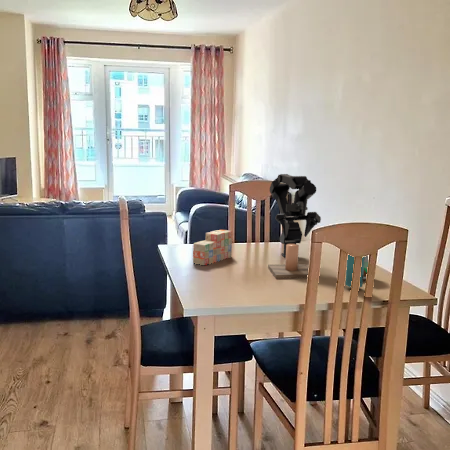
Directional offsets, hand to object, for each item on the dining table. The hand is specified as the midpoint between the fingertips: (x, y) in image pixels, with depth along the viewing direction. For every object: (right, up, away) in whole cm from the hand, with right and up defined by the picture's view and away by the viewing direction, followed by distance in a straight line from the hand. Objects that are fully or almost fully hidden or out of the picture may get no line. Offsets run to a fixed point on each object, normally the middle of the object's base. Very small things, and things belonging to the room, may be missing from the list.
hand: (295, 236), depth 221 cm
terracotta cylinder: (-3, -13, -7) cm, 15 cm away
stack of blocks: (-35, -11, +11) cm, 38 cm away
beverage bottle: (+18, -19, -28) cm, 38 cm away
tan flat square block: (-3, -14, -7) cm, 16 cm away
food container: (+26, -16, -13) cm, 33 cm away
